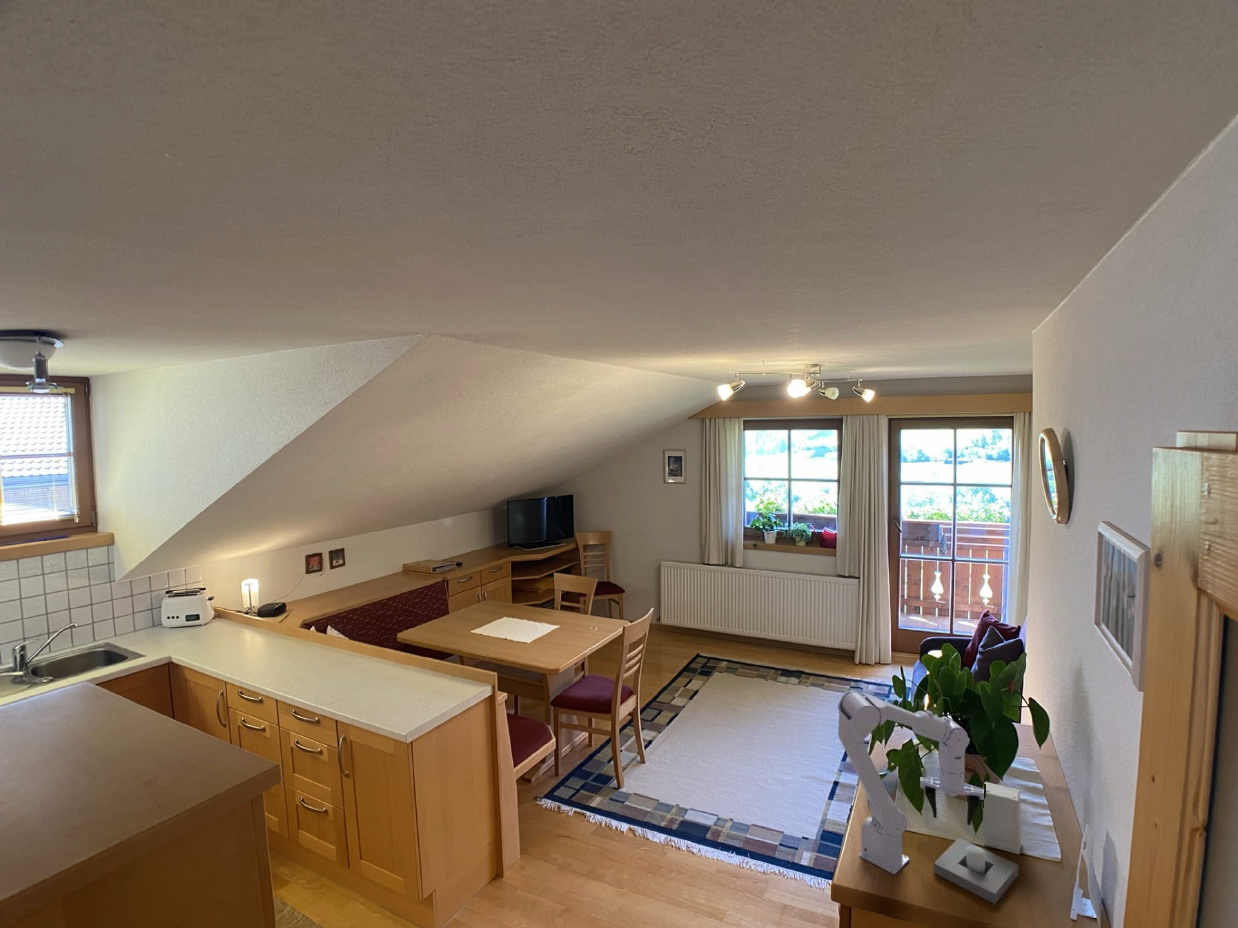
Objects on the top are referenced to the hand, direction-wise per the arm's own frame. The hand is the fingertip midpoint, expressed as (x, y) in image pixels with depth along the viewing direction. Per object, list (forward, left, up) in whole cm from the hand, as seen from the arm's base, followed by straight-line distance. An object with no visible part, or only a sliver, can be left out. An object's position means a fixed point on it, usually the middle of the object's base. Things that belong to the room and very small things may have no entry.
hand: (951, 818), depth 166 cm
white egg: (+7, -3, -9) cm, 12 cm away
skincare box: (+7, +13, -10) cm, 18 cm away
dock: (+7, -3, -9) cm, 12 cm away
